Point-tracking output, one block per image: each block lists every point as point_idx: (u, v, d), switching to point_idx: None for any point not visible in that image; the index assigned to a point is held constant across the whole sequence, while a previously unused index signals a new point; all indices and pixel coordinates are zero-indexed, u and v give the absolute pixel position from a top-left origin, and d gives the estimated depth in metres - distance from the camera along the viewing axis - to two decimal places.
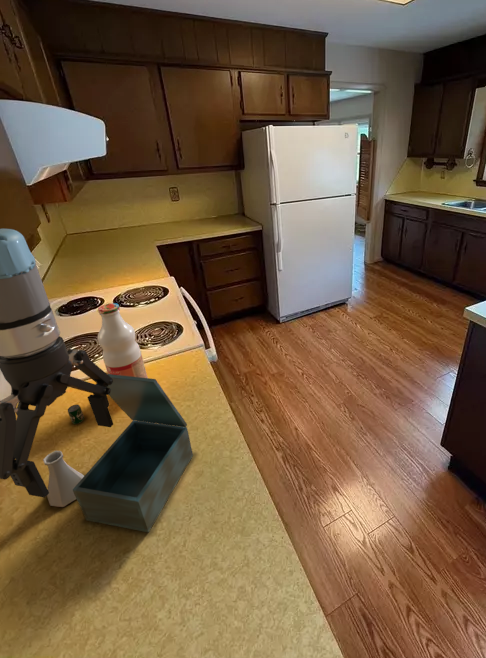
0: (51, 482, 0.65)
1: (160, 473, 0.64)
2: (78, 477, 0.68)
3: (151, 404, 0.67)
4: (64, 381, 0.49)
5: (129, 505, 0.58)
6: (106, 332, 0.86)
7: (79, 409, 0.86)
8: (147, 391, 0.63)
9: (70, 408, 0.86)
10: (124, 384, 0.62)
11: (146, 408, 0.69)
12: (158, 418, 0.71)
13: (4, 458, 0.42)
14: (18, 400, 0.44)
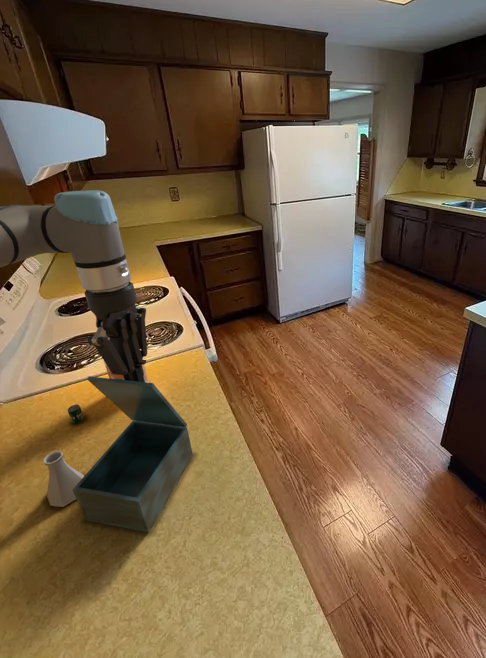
0: (51, 482, 0.65)
1: (160, 473, 0.64)
2: (78, 477, 0.68)
3: (150, 406, 0.67)
4: (131, 318, 0.60)
5: (129, 505, 0.58)
6: None
7: (79, 409, 0.86)
8: (145, 394, 0.62)
9: (70, 408, 0.86)
10: (122, 388, 0.62)
11: (145, 410, 0.69)
12: (158, 419, 0.71)
13: (119, 365, 0.59)
14: (105, 330, 0.56)
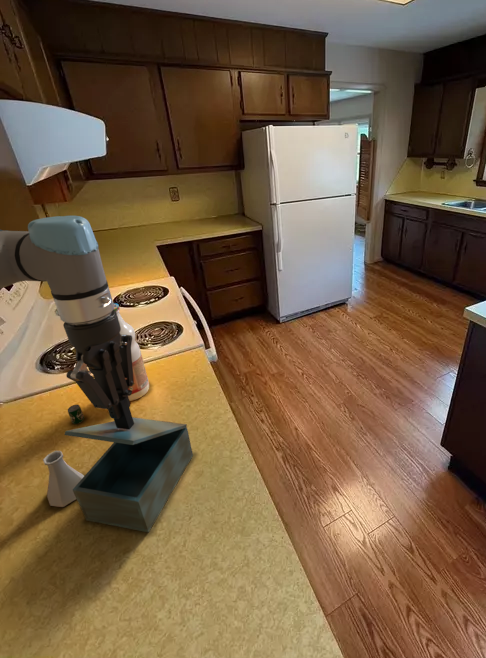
0: (51, 482, 0.65)
1: (160, 473, 0.64)
2: (78, 477, 0.68)
3: None
4: (115, 348, 0.56)
5: (129, 505, 0.58)
6: None
7: (79, 409, 0.86)
8: None
9: (70, 408, 0.86)
10: None
11: None
12: None
13: (101, 400, 0.55)
14: (86, 364, 0.52)
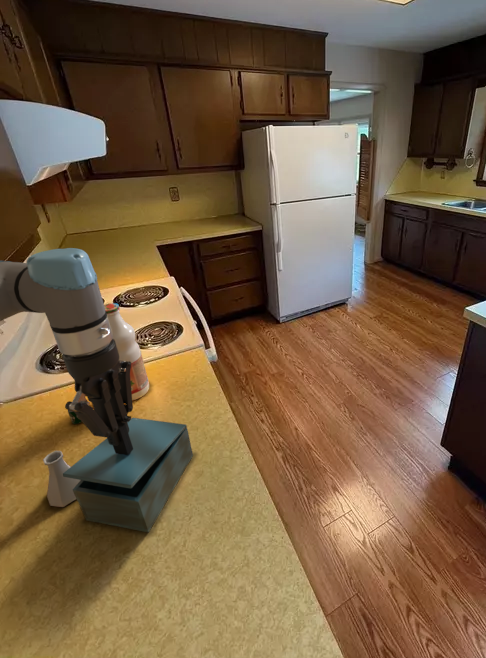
0: (51, 482, 0.65)
1: (160, 473, 0.64)
2: None
3: None
4: (113, 377, 0.56)
5: (129, 505, 0.58)
6: None
7: None
8: None
9: None
10: None
11: None
12: None
13: (100, 429, 0.55)
14: (84, 394, 0.52)
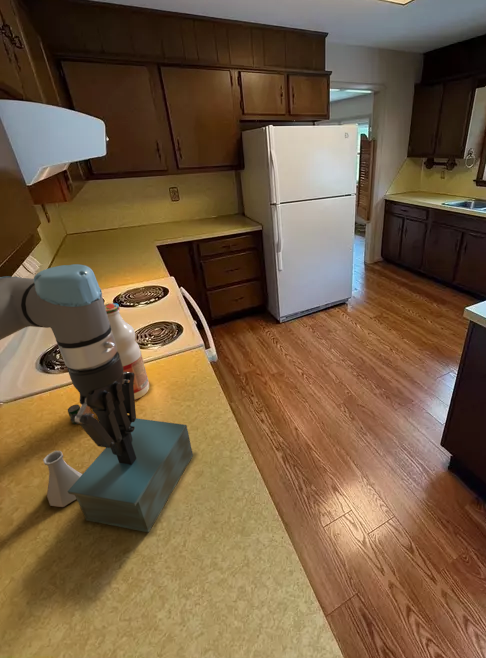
0: (51, 482, 0.65)
1: (160, 473, 0.64)
2: (78, 477, 0.68)
3: None
4: (117, 388, 0.57)
5: (129, 505, 0.58)
6: None
7: (79, 409, 0.86)
8: None
9: (70, 408, 0.86)
10: None
11: None
12: None
13: (104, 440, 0.56)
14: (89, 407, 0.53)
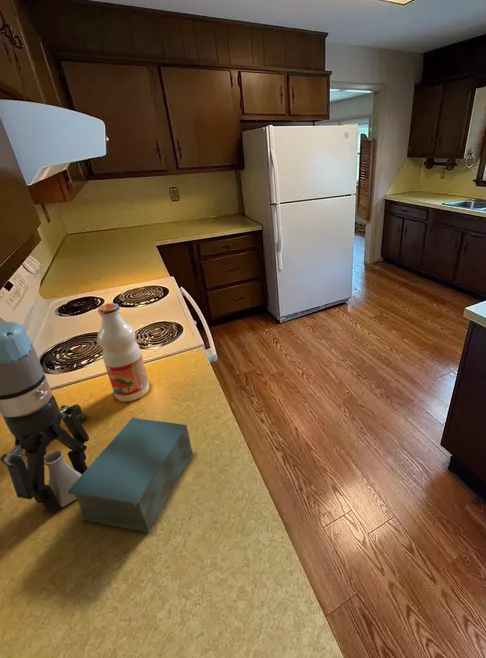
0: (51, 482, 0.65)
1: (160, 473, 0.64)
2: (78, 477, 0.68)
3: None
4: (55, 429, 0.63)
5: (129, 505, 0.58)
6: (106, 332, 0.86)
7: (79, 409, 0.86)
8: None
9: None
10: None
11: None
12: None
13: (26, 488, 0.58)
14: (22, 449, 0.58)
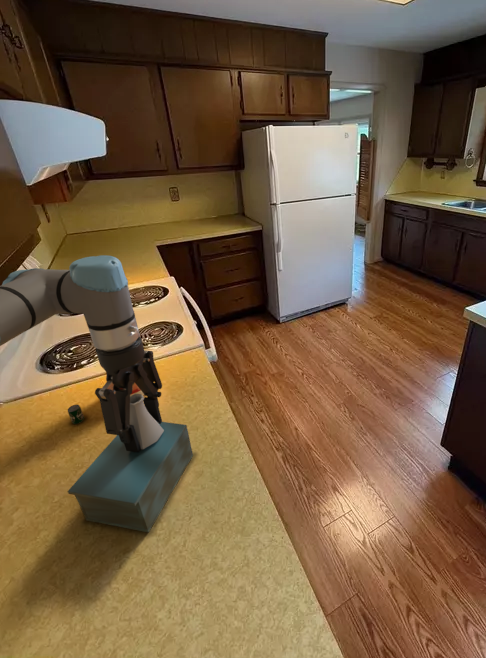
0: (131, 424, 0.66)
1: (160, 473, 0.64)
2: (155, 422, 0.69)
3: None
4: (139, 370, 0.63)
5: (129, 505, 0.58)
6: None
7: (79, 409, 0.86)
8: None
9: (70, 408, 0.86)
10: None
11: None
12: None
13: (116, 423, 0.59)
14: (113, 384, 0.58)
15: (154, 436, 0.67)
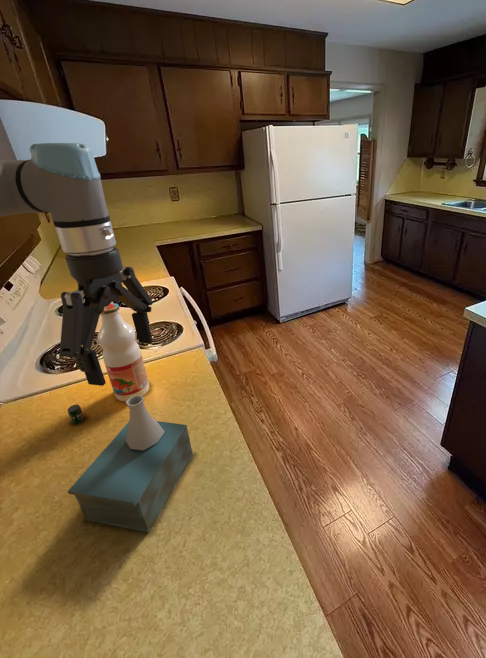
0: (132, 426, 0.66)
1: (160, 473, 0.64)
2: (156, 423, 0.69)
3: None
4: (118, 287, 0.56)
5: (129, 505, 0.58)
6: (106, 332, 0.86)
7: (79, 409, 0.86)
8: None
9: (70, 408, 0.86)
10: None
11: None
12: None
13: (75, 339, 0.49)
14: (84, 294, 0.51)
15: (154, 437, 0.68)
